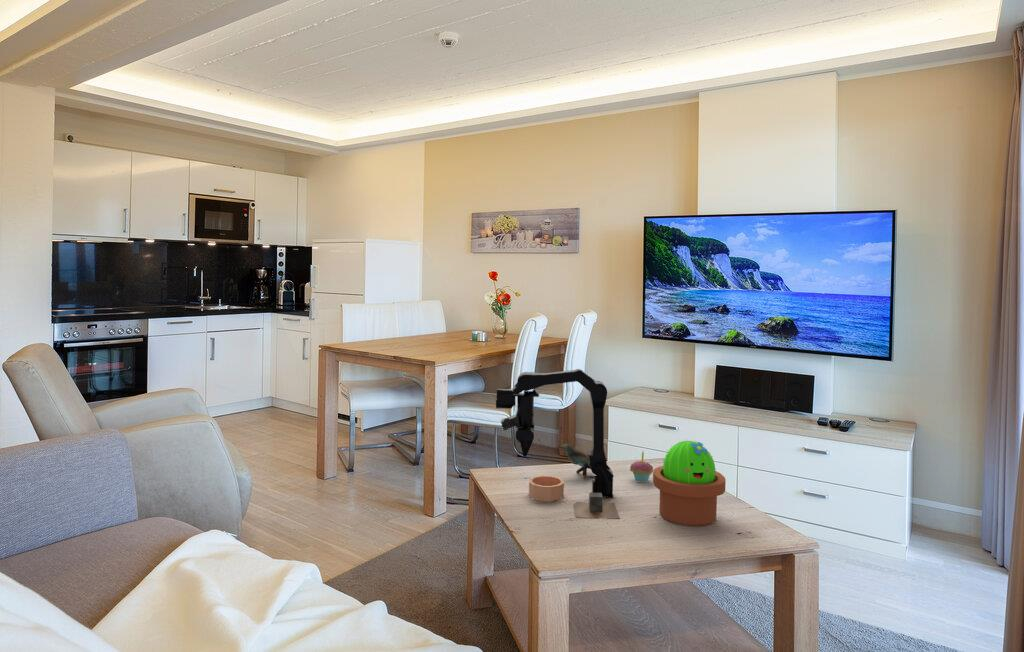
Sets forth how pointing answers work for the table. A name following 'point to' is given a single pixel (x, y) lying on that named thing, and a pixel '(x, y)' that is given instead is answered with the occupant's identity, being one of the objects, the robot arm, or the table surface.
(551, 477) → the bowl
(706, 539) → the table surface
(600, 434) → the robot arm
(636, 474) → the cupcake
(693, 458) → the potted cactus
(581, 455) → the bird figurine
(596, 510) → the lid
